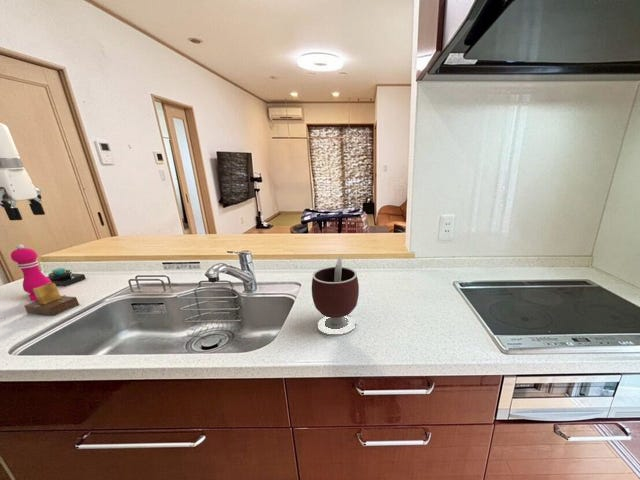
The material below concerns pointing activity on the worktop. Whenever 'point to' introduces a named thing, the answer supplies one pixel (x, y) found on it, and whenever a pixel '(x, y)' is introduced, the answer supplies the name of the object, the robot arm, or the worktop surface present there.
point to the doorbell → (66, 278)
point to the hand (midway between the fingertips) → (28, 217)
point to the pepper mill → (29, 269)
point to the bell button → (59, 271)
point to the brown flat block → (52, 306)
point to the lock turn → (47, 293)
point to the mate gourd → (335, 294)
